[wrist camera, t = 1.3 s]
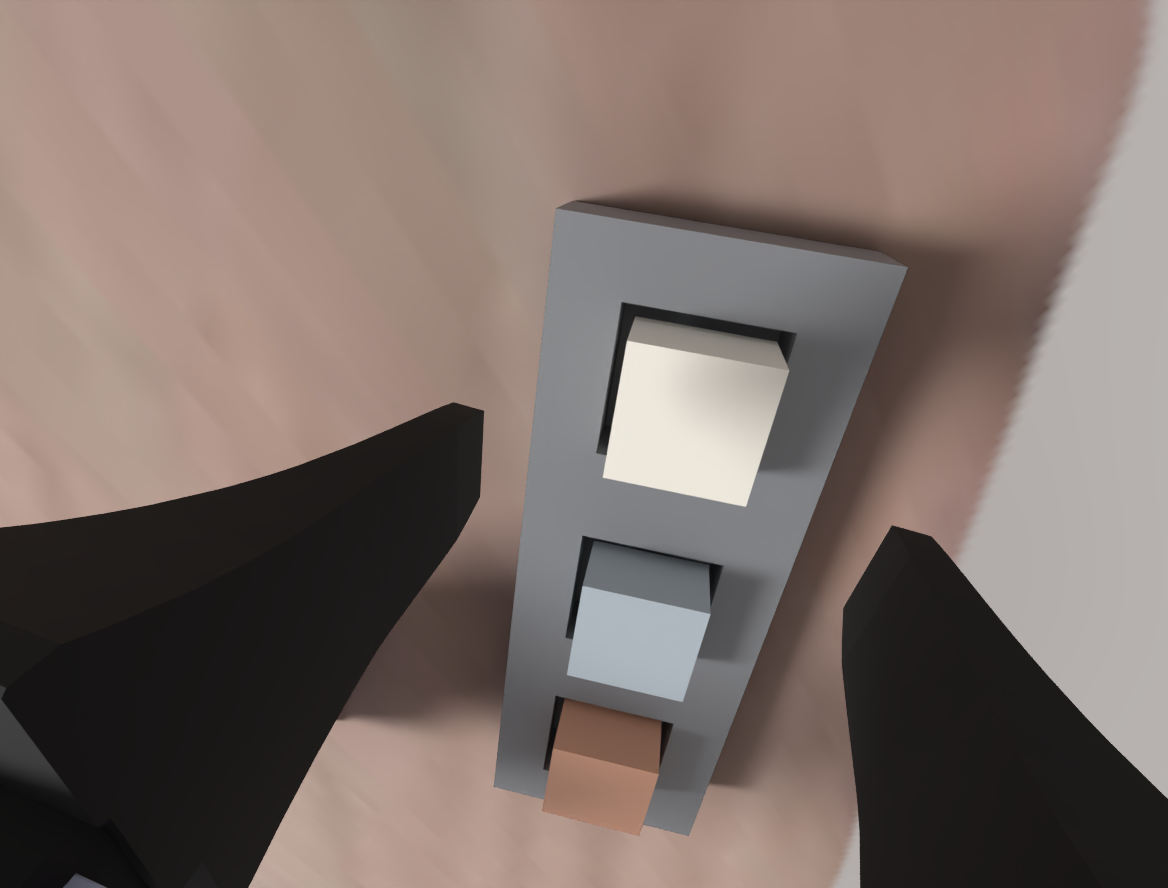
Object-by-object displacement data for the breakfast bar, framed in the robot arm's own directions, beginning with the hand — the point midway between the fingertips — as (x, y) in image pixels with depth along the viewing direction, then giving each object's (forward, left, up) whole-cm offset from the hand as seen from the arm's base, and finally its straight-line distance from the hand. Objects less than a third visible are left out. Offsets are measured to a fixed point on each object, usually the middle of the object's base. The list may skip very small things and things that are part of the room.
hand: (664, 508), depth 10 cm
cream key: (-1, -1, -8) cm, 8 cm away
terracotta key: (-16, -6, -8) cm, 18 cm away
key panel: (-8, -4, -10) cm, 13 cm away
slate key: (-8, -4, -8) cm, 12 cm away
